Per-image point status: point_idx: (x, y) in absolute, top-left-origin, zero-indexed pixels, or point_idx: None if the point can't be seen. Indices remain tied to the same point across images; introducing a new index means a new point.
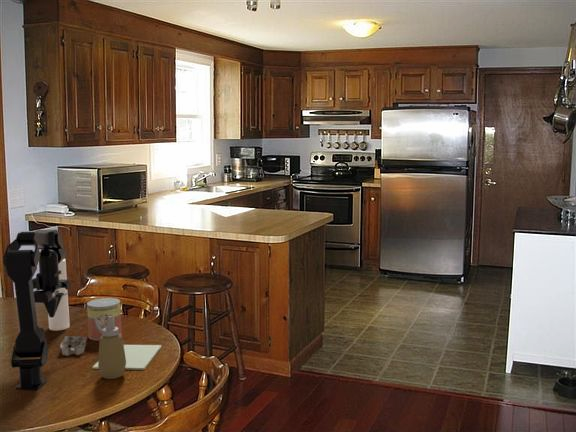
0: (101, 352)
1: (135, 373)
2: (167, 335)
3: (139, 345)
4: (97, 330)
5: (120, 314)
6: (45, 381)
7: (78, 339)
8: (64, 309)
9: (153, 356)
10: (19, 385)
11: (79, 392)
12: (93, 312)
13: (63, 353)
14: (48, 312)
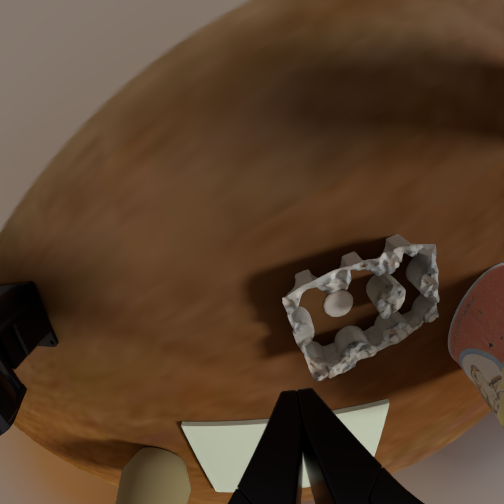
0: (116, 502)
1: (192, 481)
2: (443, 444)
3: (371, 450)
4: (471, 345)
5: None
6: (49, 345)
7: (423, 294)
8: None
9: None
10: (2, 291)
11: (63, 420)
12: None
13: (296, 283)
14: (262, 439)
